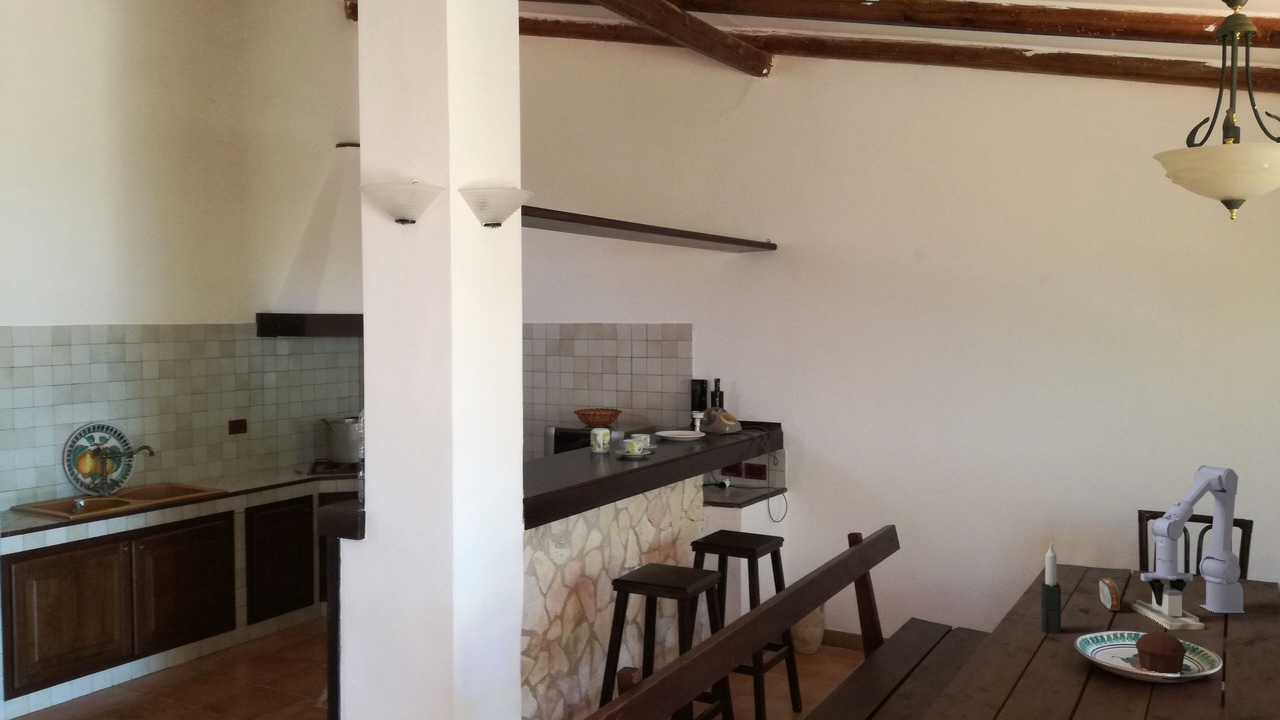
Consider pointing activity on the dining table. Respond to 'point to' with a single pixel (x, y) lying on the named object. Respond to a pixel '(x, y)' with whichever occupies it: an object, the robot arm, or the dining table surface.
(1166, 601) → the block
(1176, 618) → the rail board
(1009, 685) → the dining table surface
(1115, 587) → the tin
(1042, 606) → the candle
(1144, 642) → the muffin
